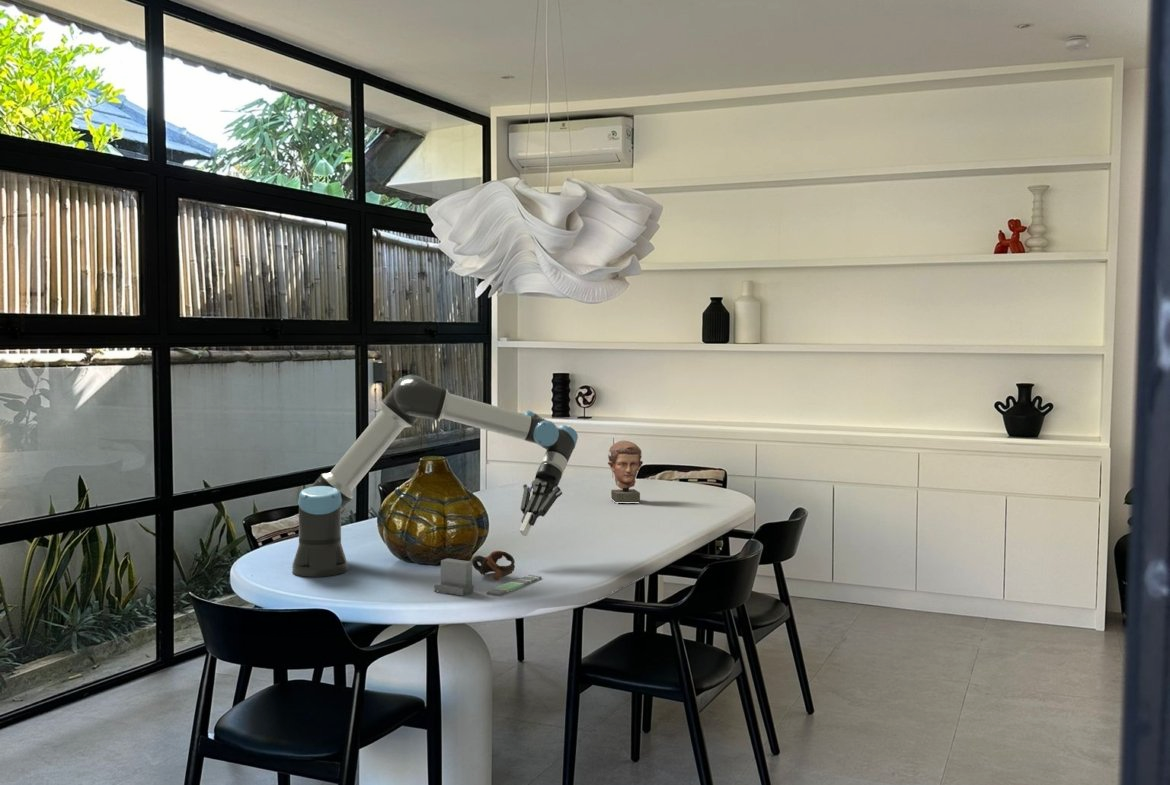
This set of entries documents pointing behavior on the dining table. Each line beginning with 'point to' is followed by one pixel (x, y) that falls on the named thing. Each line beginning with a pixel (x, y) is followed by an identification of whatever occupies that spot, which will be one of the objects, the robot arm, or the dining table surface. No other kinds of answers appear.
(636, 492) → the bust
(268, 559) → the dining table surface
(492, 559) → the pottery mug
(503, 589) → the gauge strip
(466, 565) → the striated grey slab
